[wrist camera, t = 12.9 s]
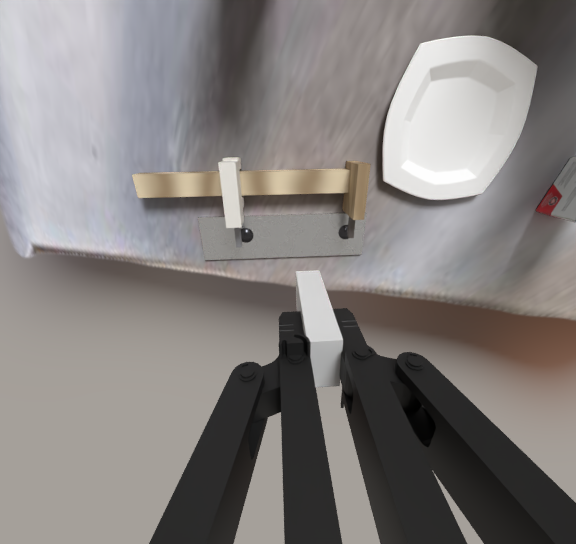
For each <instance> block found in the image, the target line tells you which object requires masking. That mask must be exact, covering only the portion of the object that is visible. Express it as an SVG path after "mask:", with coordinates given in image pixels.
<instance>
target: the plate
mask: <svg viewBox="0 0 576 544" xmlns="http://www.w3.org/2000/svg"><path fill="white" fill-rule="evenodd" d="M537 67H538V66H537V65H536V64H534V63H533V62H532V61H531V60H530V59H528V58H527V57H526V56H524V55H523V54H521V53H520V52H519V51H517V50H516V49H514V48H512V47H511V46H509V45H507V44H505V43H503V42H501V41H499V40H496V39H493V38H490V37H488V36H458V37H451V38H445V39H439V40H434V41H430V42H425V43H421V44H420V45H419V47H418V49H417V51H416V53H415V54H414V56H413V58H412V60H411V62H410V64H409V66H408V68H407V70H406V71H405V73H404V75H403V77H402V79H401V81H400V83H399V86H398V88H397V90H396V93H395V95H394V97H393V100H392V102H391V105H390V108H389V112H388V115H387V118H386V124H385V129H384V137H383V181H384V182H386V183H388V184H390V185H391V186H393V187H395V188H397V189H399V190H401V191H404V192H406V193H408V194H411V195H414V196H416V197H420V198H424V199H428V200H448V199H457V198H463V197H470V196H474V195H479V194H482V193H483V192H484V190H485V189H486V188H487V187H488V185H489V184H490V183H491V181H492V180H493V179H494V177H495V176H496V175H497V173H498V172H499V170H500V169H501V168H502V166H503V165H504V163H505V162H506V160H507V159H508V157H509V155H510V154H511V152H512V151H513V149H514V147H515V145H516V143H517V141H518V139H519V137H520V134H521V132H522V129H523V127H524V124H525V121H526V117H527V114H528V110H529V107H530V103H531V98H532V93H533V88H534V83H535V78H536V73H537Z"/></svg>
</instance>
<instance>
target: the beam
mask: <svg viewBox="0 0 576 544" xmlns="http://www.w3.org/2000/svg"><path fill="white" fill-rule="evenodd" d="M369 173H370V164H368V163H363V162H358V161H346V169H306V170H258V171H240V182H241V193H242V195H279V194H320V193H344V196H343V209H342V210H343V211H344V212H345V213H346V214H347V215H348V216H349V220H348V231H347V237H348V238H354V230H355V220H364V216H365V207H366V198H367V191H368V182H369ZM132 177H133V180H134V184H135V188H136V192H137V196H138V198H158V197H199V196H222V189H221V180H220V172H219V171H210V172H161V173H138V174H134V175H132Z"/></svg>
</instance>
